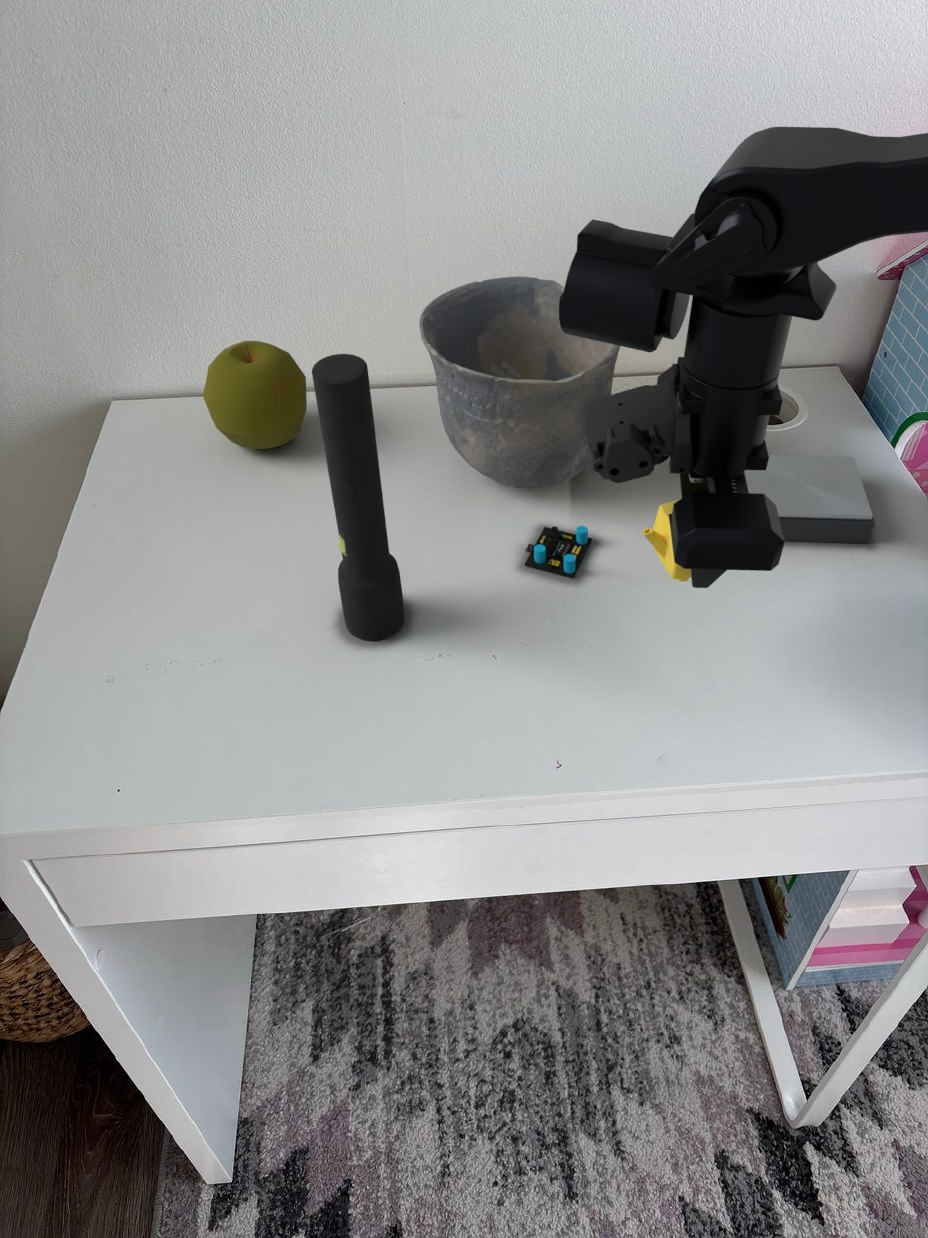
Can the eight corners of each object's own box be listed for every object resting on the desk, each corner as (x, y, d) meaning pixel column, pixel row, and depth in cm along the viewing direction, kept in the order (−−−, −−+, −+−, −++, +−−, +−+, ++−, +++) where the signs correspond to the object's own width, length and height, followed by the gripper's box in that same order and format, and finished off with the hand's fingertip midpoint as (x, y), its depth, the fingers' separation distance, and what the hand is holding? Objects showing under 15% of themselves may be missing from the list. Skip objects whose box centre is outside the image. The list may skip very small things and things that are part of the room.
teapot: (655, 605, 67) (664, 550, 64) (626, 552, 71) (632, 497, 67) (761, 584, 68) (775, 529, 65) (727, 532, 72) (738, 477, 69)
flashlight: (389, 590, 83) (335, 611, 81) (358, 338, 66) (289, 359, 64) (414, 627, 80) (360, 649, 78) (389, 373, 62) (318, 395, 61)
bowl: (415, 515, 90) (403, 375, 79) (439, 407, 102) (431, 273, 91) (608, 524, 88) (622, 382, 77) (608, 413, 100) (621, 277, 89)
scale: (851, 480, 91) (860, 454, 89) (871, 543, 85) (881, 518, 83) (730, 477, 92) (736, 451, 90) (741, 539, 86) (747, 514, 84)
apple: (213, 470, 95) (186, 373, 87) (220, 414, 102) (197, 319, 94) (314, 462, 96) (297, 365, 88) (315, 407, 103) (299, 312, 95)
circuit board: (540, 513, 87) (593, 526, 85) (539, 527, 88) (592, 540, 87) (519, 550, 84) (574, 564, 82) (519, 564, 85) (573, 578, 83)
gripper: (593, 288, 65) (581, 473, 76) (600, 455, 52) (584, 648, 63) (761, 288, 64) (724, 475, 75) (811, 458, 51) (757, 653, 63)
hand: (695, 555), depth 69 cm, fingers closed on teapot, 6 cm apart
